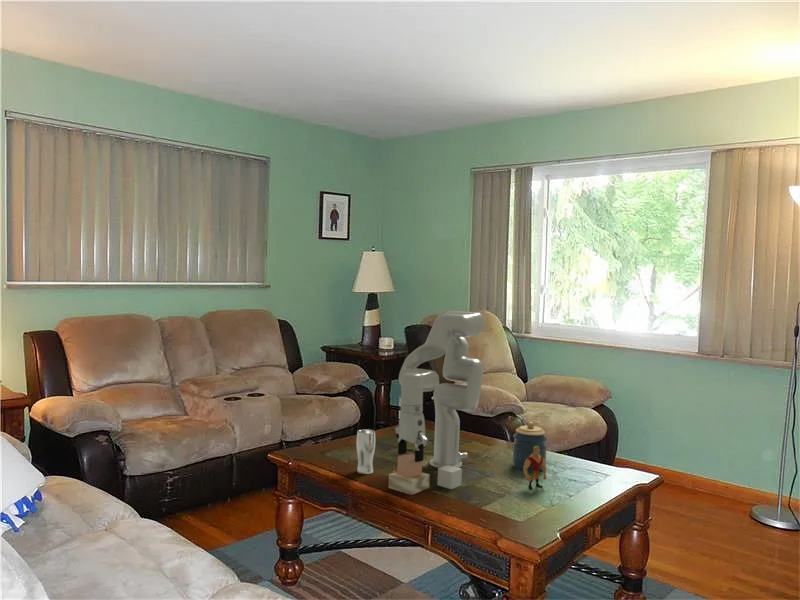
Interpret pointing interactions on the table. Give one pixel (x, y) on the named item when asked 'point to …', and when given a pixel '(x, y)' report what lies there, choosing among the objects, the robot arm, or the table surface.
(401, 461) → the terracotta block
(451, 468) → the grey block
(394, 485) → the ash base block
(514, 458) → the canister
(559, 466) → the table surface
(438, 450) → the robot arm
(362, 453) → the beer glass
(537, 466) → the action figure
